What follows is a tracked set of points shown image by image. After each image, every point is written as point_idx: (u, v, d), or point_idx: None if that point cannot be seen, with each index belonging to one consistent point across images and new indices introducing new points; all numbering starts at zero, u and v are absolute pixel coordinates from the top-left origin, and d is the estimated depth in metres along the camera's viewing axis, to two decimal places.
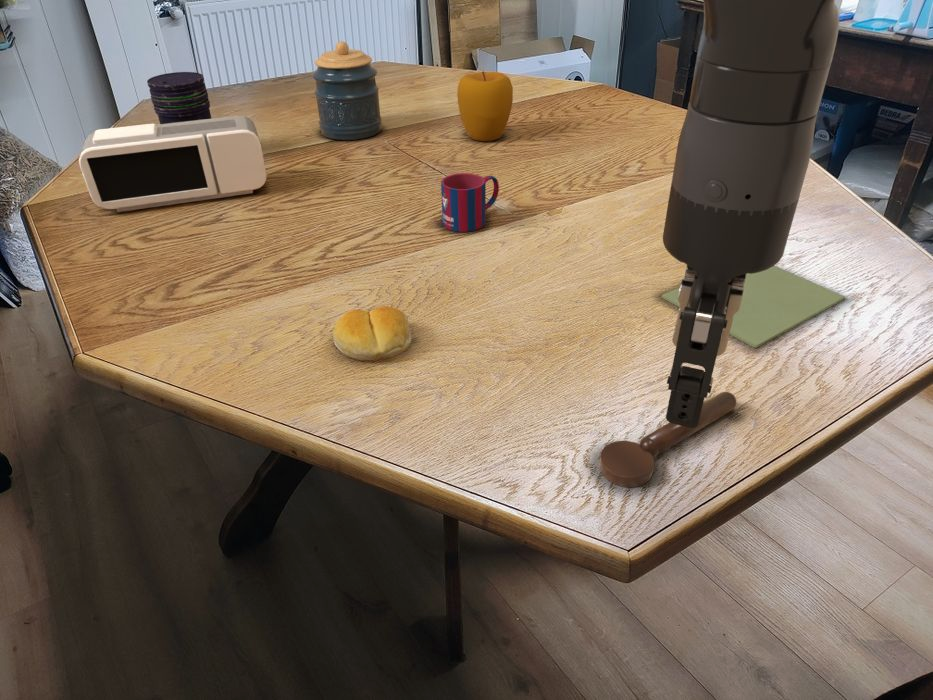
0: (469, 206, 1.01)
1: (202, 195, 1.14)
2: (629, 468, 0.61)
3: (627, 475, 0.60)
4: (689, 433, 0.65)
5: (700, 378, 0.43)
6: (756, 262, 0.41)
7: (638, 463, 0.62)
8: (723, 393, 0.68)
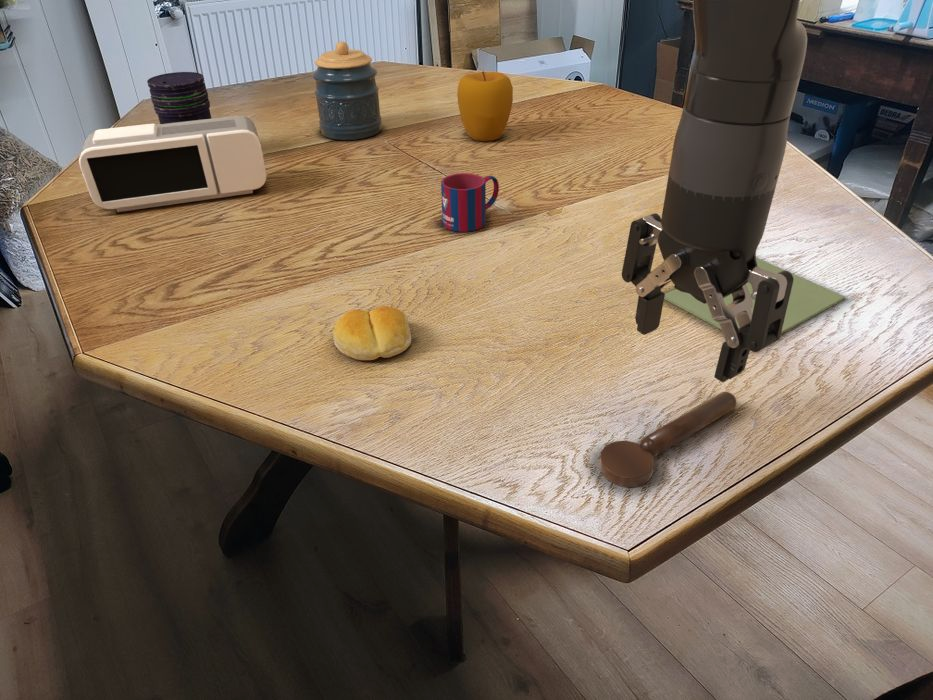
0: (469, 206, 1.01)
1: (202, 195, 1.14)
2: (629, 468, 0.61)
3: (627, 475, 0.60)
4: (689, 433, 0.65)
5: (768, 329, 0.52)
6: None
7: (638, 463, 0.62)
8: (723, 393, 0.68)
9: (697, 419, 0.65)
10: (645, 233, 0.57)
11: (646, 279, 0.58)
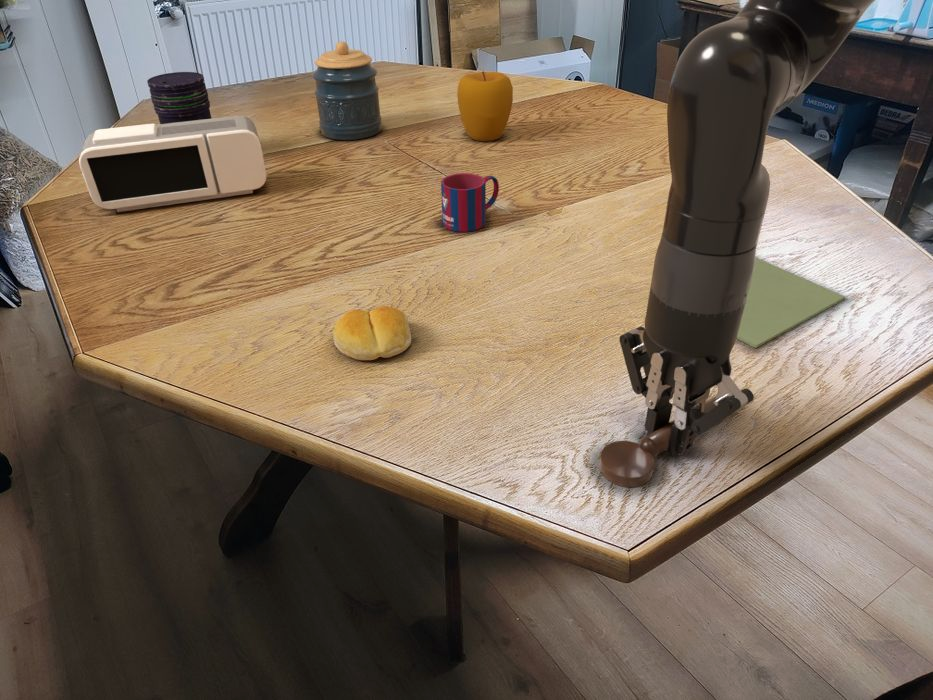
0: (469, 206, 1.01)
1: (202, 195, 1.14)
2: (629, 468, 0.61)
3: (627, 475, 0.60)
4: None
5: None
6: None
7: (638, 463, 0.62)
8: None
9: None
10: (634, 343, 0.63)
11: (655, 394, 0.62)
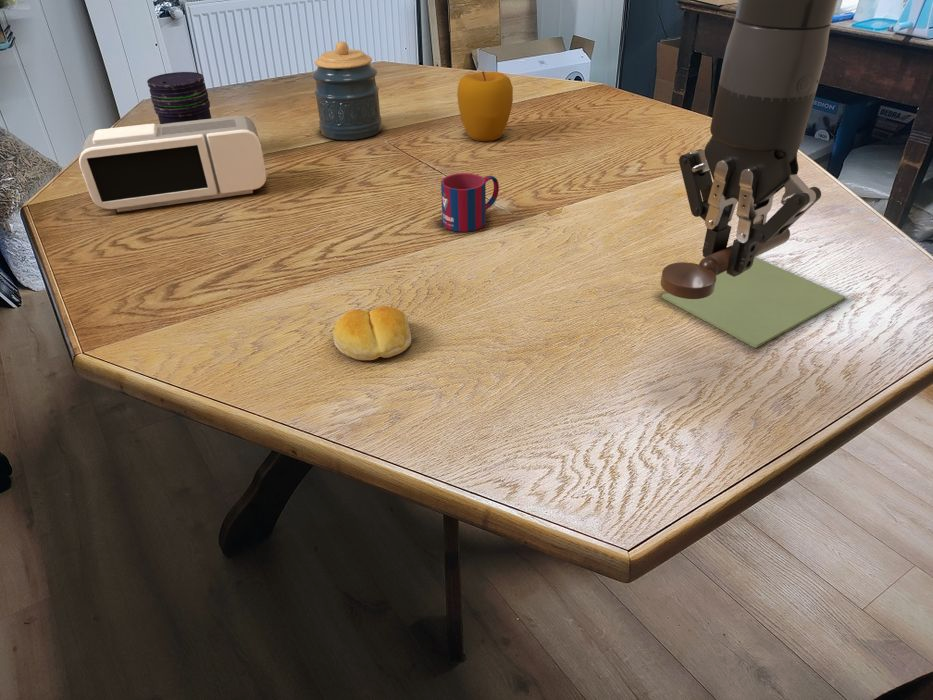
0: (469, 206, 1.01)
1: (202, 195, 1.14)
2: (692, 281, 0.62)
3: (691, 286, 0.61)
4: None
5: None
6: None
7: (700, 277, 0.62)
8: None
9: None
10: (694, 163, 0.64)
11: (716, 211, 0.63)
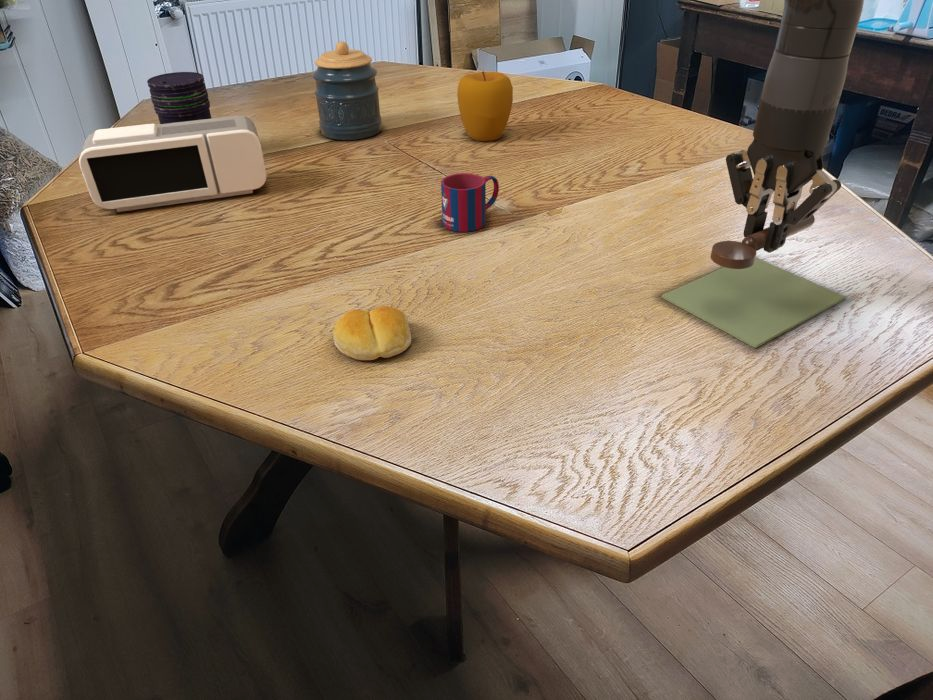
0: (469, 206, 1.01)
1: (202, 195, 1.14)
2: (737, 255, 0.77)
3: (736, 258, 0.77)
4: None
5: None
6: None
7: (743, 252, 0.78)
8: None
9: None
10: (738, 161, 0.79)
11: (756, 200, 0.79)
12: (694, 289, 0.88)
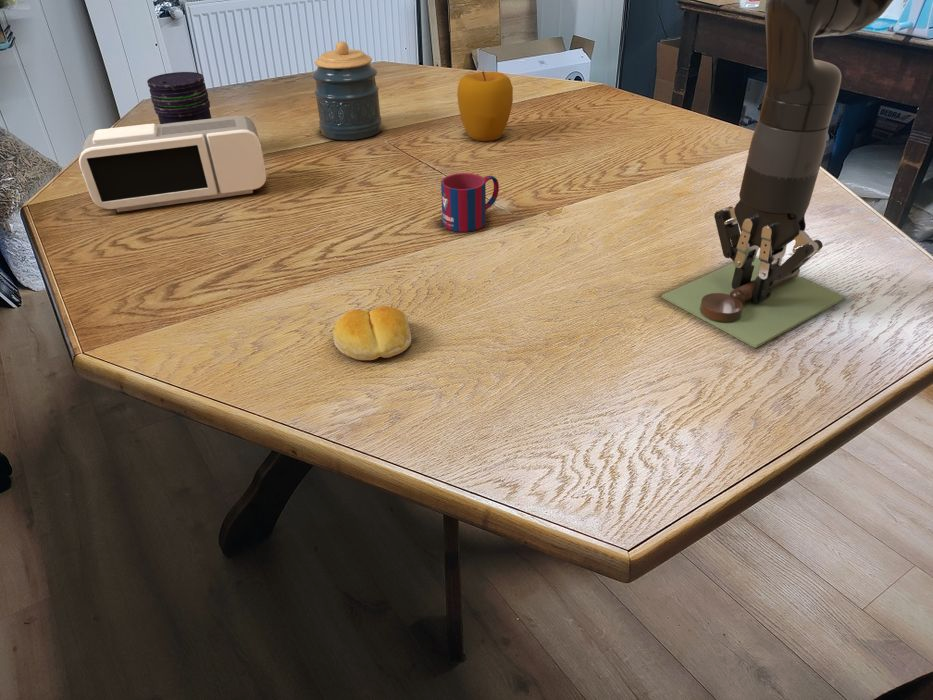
0: (469, 206, 1.01)
1: (202, 195, 1.14)
2: (725, 308, 0.81)
3: (724, 312, 0.81)
4: None
5: None
6: None
7: (731, 305, 0.82)
8: None
9: None
10: (726, 218, 0.84)
11: (743, 255, 0.83)
12: (694, 289, 0.88)
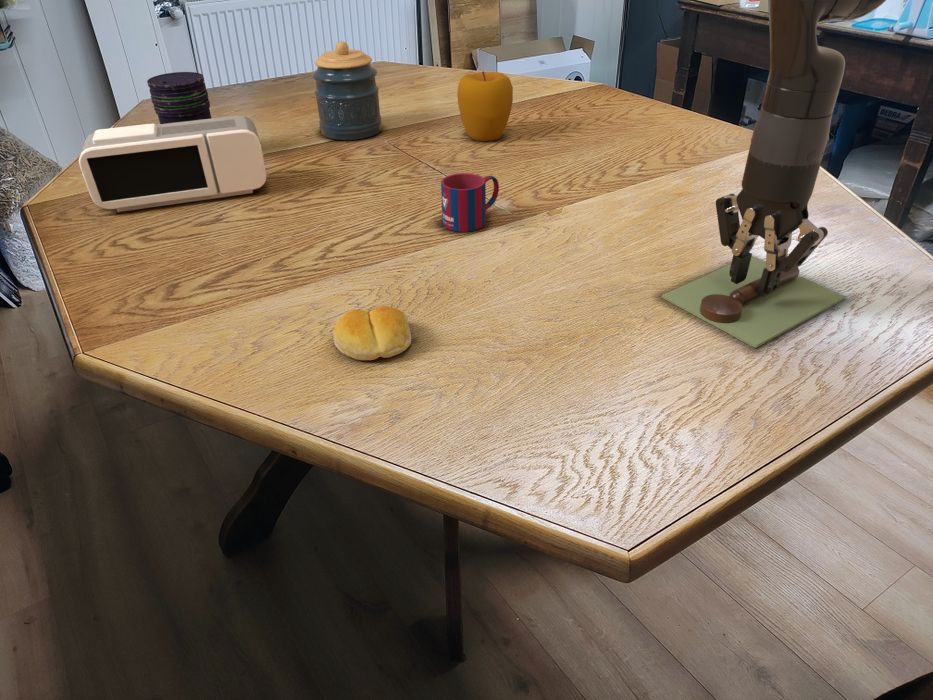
0: (469, 206, 1.01)
1: (202, 195, 1.14)
2: (724, 309, 0.82)
3: (723, 313, 0.81)
4: None
5: None
6: None
7: (730, 306, 0.82)
8: None
9: None
10: (727, 205, 0.83)
11: (741, 242, 0.82)
12: (694, 289, 0.88)
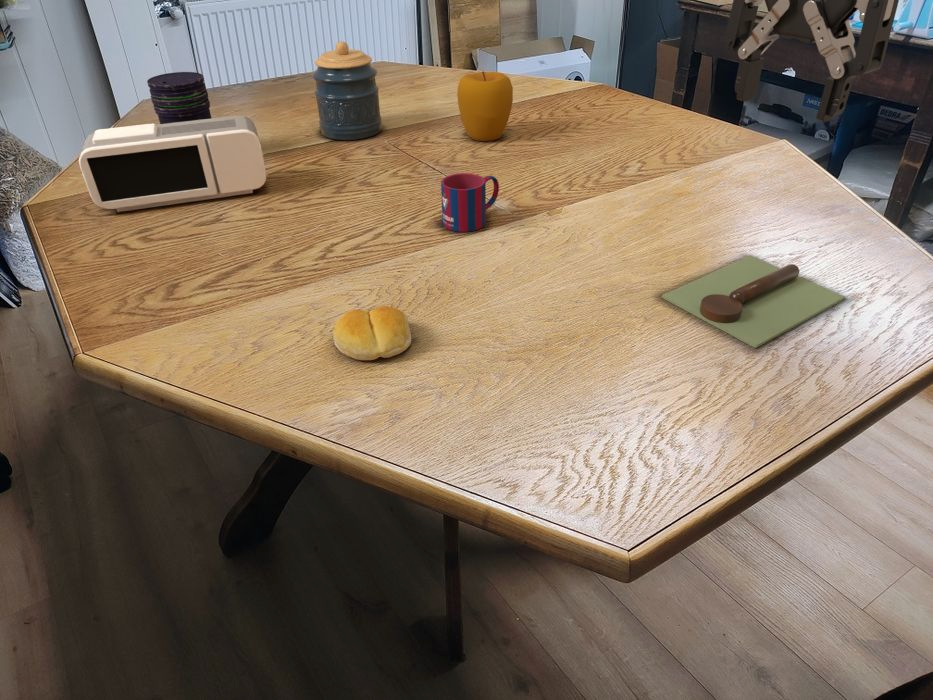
0: (469, 206, 1.01)
1: (202, 195, 1.14)
2: (724, 309, 0.82)
3: (723, 313, 0.81)
4: (766, 290, 0.85)
5: (872, 56, 0.57)
6: None
7: (730, 306, 0.82)
8: (789, 264, 0.89)
9: (771, 280, 0.86)
10: None
11: (750, 38, 0.64)
12: (694, 289, 0.88)
